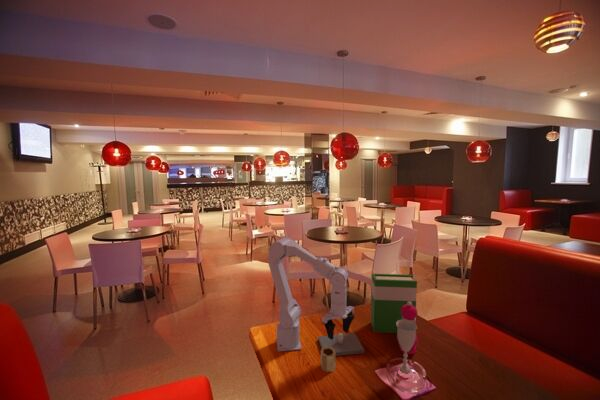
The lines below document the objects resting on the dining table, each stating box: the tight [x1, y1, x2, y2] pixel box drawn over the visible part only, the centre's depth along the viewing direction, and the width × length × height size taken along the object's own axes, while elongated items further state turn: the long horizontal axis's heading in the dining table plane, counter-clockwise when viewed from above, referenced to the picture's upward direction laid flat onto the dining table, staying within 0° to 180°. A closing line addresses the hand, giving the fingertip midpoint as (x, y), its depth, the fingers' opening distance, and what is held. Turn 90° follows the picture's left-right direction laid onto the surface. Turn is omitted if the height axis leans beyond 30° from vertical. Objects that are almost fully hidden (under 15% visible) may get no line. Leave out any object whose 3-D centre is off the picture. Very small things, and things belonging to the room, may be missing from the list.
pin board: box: [317, 332, 365, 357], centre depth 111 cm, size 16×11×6 cm
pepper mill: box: [398, 301, 419, 355], centre depth 109 cm, size 7×7×20 cm
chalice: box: [396, 319, 418, 374], centre depth 96 cm, size 7×7×18 cm
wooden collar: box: [320, 347, 337, 373], centre depth 99 cm, size 5×5×6 cm
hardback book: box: [370, 273, 418, 334], centre depth 123 cm, size 18×7×24 cm, turn 85°
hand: (338, 334), depth 104 cm, fingers open, 7 cm apart
